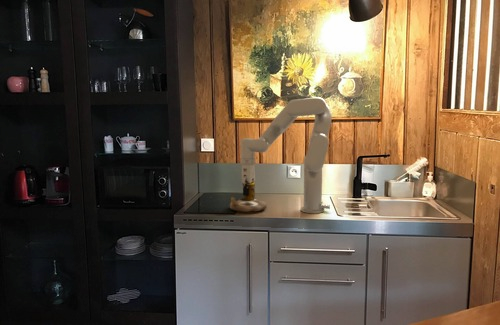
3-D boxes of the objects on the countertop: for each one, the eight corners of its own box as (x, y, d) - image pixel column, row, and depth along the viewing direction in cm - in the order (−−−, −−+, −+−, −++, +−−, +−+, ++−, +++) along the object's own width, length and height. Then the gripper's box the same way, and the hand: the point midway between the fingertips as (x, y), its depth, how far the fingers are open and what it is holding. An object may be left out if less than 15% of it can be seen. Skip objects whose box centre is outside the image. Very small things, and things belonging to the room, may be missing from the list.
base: (261, 207, 232) (261, 205, 232) (255, 213, 221) (255, 210, 220) (241, 206, 235) (241, 204, 235) (234, 211, 224) (234, 209, 224)
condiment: (257, 200, 226) (257, 178, 224) (244, 202, 221) (244, 180, 220) (250, 197, 232) (250, 176, 230) (237, 199, 227) (237, 178, 226)
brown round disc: (258, 201, 241) (257, 191, 240) (272, 209, 222) (272, 198, 221) (224, 204, 233) (224, 194, 233) (237, 213, 215) (236, 202, 214)
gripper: (249, 163, 215) (249, 198, 218) (259, 159, 231) (259, 191, 234) (235, 163, 217) (236, 197, 220) (246, 159, 234) (246, 190, 236)
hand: (248, 193), depth 227 cm, fingers closed on condiment, 6 cm apart
